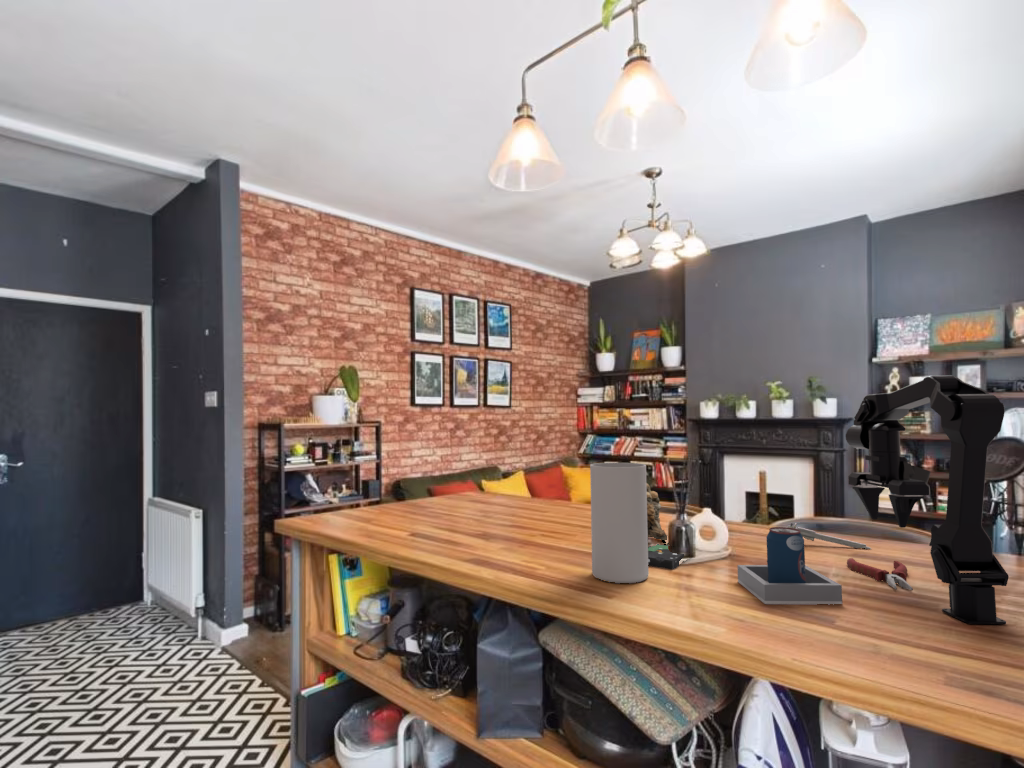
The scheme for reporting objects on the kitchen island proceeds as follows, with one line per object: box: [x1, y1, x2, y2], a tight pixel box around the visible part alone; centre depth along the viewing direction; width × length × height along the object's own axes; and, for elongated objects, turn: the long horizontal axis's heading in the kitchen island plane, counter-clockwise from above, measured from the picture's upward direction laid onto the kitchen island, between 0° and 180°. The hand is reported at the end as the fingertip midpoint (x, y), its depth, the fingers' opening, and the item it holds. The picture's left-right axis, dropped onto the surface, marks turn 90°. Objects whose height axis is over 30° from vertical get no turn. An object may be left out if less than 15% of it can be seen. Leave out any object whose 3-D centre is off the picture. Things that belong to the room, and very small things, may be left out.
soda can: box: [766, 526, 806, 583], centre depth 113 cm, size 7×7×12 cm
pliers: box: [846, 557, 914, 591], centre depth 122 cm, size 12×20×3 cm, turn 163°
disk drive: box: [648, 544, 684, 570], centre depth 139 cm, size 10×3×15 cm
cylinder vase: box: [589, 462, 650, 584], centre depth 126 cm, size 12×12×25 cm
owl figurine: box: [646, 482, 668, 541], centre depth 160 cm, size 18×12×17 cm, turn 158°
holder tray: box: [737, 564, 843, 606], centre depth 113 cm, size 14×14×4 cm
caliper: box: [786, 521, 872, 550], centre depth 153 cm, size 20×1×6 cm, turn 68°
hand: (888, 523), depth 121 cm, fingers open, 9 cm apart
